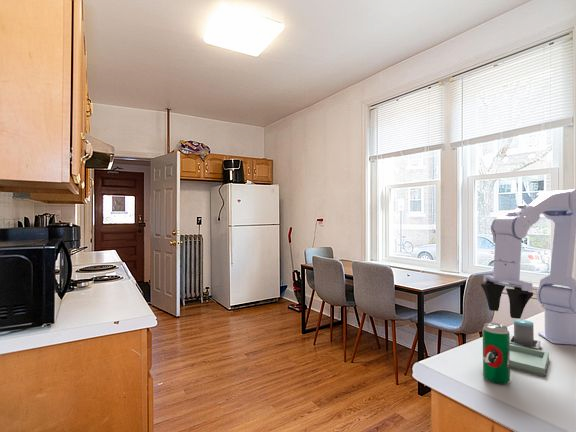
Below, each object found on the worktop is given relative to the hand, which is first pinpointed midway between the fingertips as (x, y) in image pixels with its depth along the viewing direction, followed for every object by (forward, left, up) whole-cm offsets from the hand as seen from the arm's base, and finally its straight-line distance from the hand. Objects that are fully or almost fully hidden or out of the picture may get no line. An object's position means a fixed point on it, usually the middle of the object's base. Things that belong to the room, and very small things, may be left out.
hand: (504, 314), depth 84 cm
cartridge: (-8, -8, -11) cm, 16 cm away
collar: (-8, -8, -11) cm, 16 cm away
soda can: (+7, +14, -11) cm, 19 cm away
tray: (-2, +2, -11) cm, 11 cm away
